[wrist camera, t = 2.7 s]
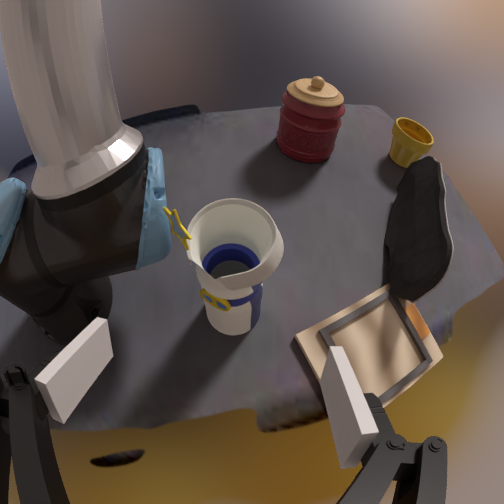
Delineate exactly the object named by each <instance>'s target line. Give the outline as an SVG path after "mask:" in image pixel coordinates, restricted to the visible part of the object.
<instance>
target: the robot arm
mask: <svg viewBox="0 0 504 504" xmlns="http://www.w3.org/2000/svg"><path fill="white" fill-rule="evenodd" d="M0 32H1V39H2V46H3V52H4V57H5V62H6V67H7V72H8V76H9V80H10V84H11V88H12V92H13V96H14V99H15V103H16V106H17V109H18V112H19V115H20V118H21V122H22V125H23V127H24V130H25V133H26V136H27V139H28V141H29V144H30V147H31V149H32V152H33V154H34V157H35V159H36V161H37V169H36V172H35V175H34V178H33V181H32V190H26V186H25V184H24V182H21V181H20V180H18V179H16V178H9V179H6V180H4V181H3V182H1V183H0V296H2V297H3V298H5V299H6V300H8V301H9V302H11V303H12V304H14V305H15V306H17V307H18V308H20V309H22V310H23V311H25V312H26V313H28V314H30V315H31V317H32V318H33V320H34V321H35V322H36V324H37V325H38V326H39V328H40V329H41V330H42V332H43V333H44V334H45V335H46V336H47V337H49V338H50V339H52V340H54V341H56V342H58V343H60V344H63V345H67V346H66V347H65V348H64V349H63V350H62V351H61V352H58V351H57V352H55V353H53V354H51V355H49V356H48V357H47V358H46V359H45V361H43V362H42V363H41V365H39V366H38V367H37V368H36V369H35V370H34V371H33V372H32V373H31V374H30V375H29V376H27V373H26V371H25V368H24V367H23V366H21V365H16V364H14V365H11V366H9V367H7V368H6V369H5V370H4V373H3V374H4V376H5V378H6V380H7V382H5V381H2V380H1V377H0V504H8V490H9V474H10V463H11V455H12V460H13V467H14V474H15V479H16V484H17V490H18V494H19V499H20V503H21V504H70V502H69V500H68V497H67V494H66V491H65V488H64V485H63V482H62V479H61V475H60V472H59V468H58V465H57V461H56V457H55V453H54V449H53V444H52V439H51V435H50V429H49V424H48V419H47V417H46V414H47V413H48V412H50V414H51V416H52V418H53V419H54V420H56V421H58V422H60V423H63V424H64V423H65V422H66V420H67V419H68V418H69V416H70V415H71V413H72V412H73V410H74V409H75V408H76V406H77V405H78V403H79V402H80V401H81V399H82V398H83V396H84V395H85V394H86V392H87V391H88V389H89V388H90V387H91V385H92V384H93V383H94V381H95V380H96V379H97V377H98V376H99V374H100V373H101V372H102V370H103V369H104V368H105V366H106V365H107V364H108V362H109V361H110V360H111V358H112V357H113V351H112V346H111V340H110V334H109V328H108V321H107V318H108V316H109V313H110V310H111V305H112V286H111V282H110V279H109V277H108V276H110V275H115V274H119V273H123V272H127V271H131V270H138V269H140V268H141V267H143V266H146V265H149V264H152V263H155V262H158V261H161V260H163V259H164V258H165V257H166V256H167V255H168V254H169V252H170V250H171V236H170V227H169V219H168V217H167V215H166V214H165V212H164V210H163V207H166V208H167V202H166V194H165V182H164V169H163V157H162V151H161V150H160V149H158V148H155V149H154V148H152V147H150V148H148V149H147V150H145V146H144V142H143V138H142V135H141V133H140V132H139V131H137V130H136V129H134V128H131V127H129V126H127V125H125V124H123V123H122V121H121V118H120V114H119V109H118V105H117V100H116V96H115V91H114V86H113V81H112V76H111V71H110V65H109V60H108V54H107V47H106V41H105V34H104V26H103V18H102V10H101V0H0ZM320 386H321V390H322V393H323V397H324V401H325V405H326V409H327V413H328V417H329V421H330V425H331V429H332V433H333V437H334V442H335V445H336V450H337V454H338V458H339V463H340V467H341V469H343V468H351V467H357V465H358V464H359V462H360V461H361V462H362V466H363V467H362V469H361V470H360V471H359V473H358V474H357V475H356V477H355V479H354V480H353V482H352V483H351V485H350V486H349V487H348V489H347V490H346V491H345V493H344V494H343V495H342V497H341V498H340V499H339V500H338V502H337V503H336V504H379V502H380V501H381V499H382V498H383V496H384V494H385V492H386V491H387V489H388V487H389V485H390V483H391V481H392V480H395V481H397V484H396V488H395V493H394V498H393V502H392V504H445V499H446V485H447V445H446V443H445V441H444V440H443V439H441V438H439V437H436V436H431V437H428V438H427V439H426V440H425V441H424V442H423V443H410V442H407V441H406V439H405V438H404V437H402V436H400V435H398V434H396V433H395V432H394V429H393V428H392V425H391V423H390V421H389V419H388V416H387V414H386V413H385V410H384V408H383V406H382V403H381V401H380V399H379V398H378V397H377V396H376V395H375V394H374V393H363V392H362V390H361V388H360V385H359V383H358V381H357V378H356V376H355V374H354V371H353V369H352V367H351V365H350V362H349V360H348V358H347V356H346V353H345V351H344V349H343V347H342V346H330V347H329V351H328V355H327V358H326V362H325V366H324V369H323V372H322V376H321V379H320Z"/></svg>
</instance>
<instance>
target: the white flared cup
mask: <svg viewBox="0 0 504 504" xmlns="http://www.w3.org/2000/svg"><path fill="white" fill-rule="evenodd" d="M163 210H164V212H165V214H166V215H167V217H168V219H169V221H170V222H171V231H172V233H174V234H175V235H176V236H178V237H179V239H180V240H181V242H182V243H183V245H184V246H185V248H186V251H187V256H188V259H189V263H190V266H191V265H192V261H194V262H195V263H196V274H197V278H198V280H199V282H200V284H201V291H200V295H201V297H202V298H203V299H204V303H205V307H206V313H207V317H208V320H209V322H210V324H211V325H212V326H213V327H214V328H215V329H216V330H217V331H219V332H221V333H223V334H226V335H240V334H244V333H246V332H248V331H249V330H251V329H252V328H253V327H254V326H255V324H256V323H257V321H258V319H259V316H260V306H261V298H262V291H263V283H262V282H263V281H264V280H266V279H267V278H268V277H270V276H271V275H272V274H273V272H274V271H275V270H276V268H277V266H278V265H279V263H280V261H281V259H282V256H283V251H284V246H283V240H282V237H281V235H280V232H279V230H278V228H277V227H276V225H275V223H274V221H273V219H272V217H271V216H270V215H269V214H268V212H267V211H265V210H264V209H263V208H262V207H260V206H259V205H257V204H255V203H253V202H250V201H247V200H243V199H234V198H232V199H222V200H218V201H215V202H213V203H211V204H209V205H207V206H205V207H204V208H203V209H201V210H200V211H199V212H198V213H197V214H196V215H195V216H194V218H193V219H192V220H191V222H190V224H189V226H188V229H187V231H186V230H185V228H184V227H183V226H182V224H181V222H180V219H179V217H178V214H177V212H176V209H174V210H173V211H172V213H171V212H170V211H169V210H168V209H167V208H166V207H163ZM191 260H192V261H191Z"/></svg>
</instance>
